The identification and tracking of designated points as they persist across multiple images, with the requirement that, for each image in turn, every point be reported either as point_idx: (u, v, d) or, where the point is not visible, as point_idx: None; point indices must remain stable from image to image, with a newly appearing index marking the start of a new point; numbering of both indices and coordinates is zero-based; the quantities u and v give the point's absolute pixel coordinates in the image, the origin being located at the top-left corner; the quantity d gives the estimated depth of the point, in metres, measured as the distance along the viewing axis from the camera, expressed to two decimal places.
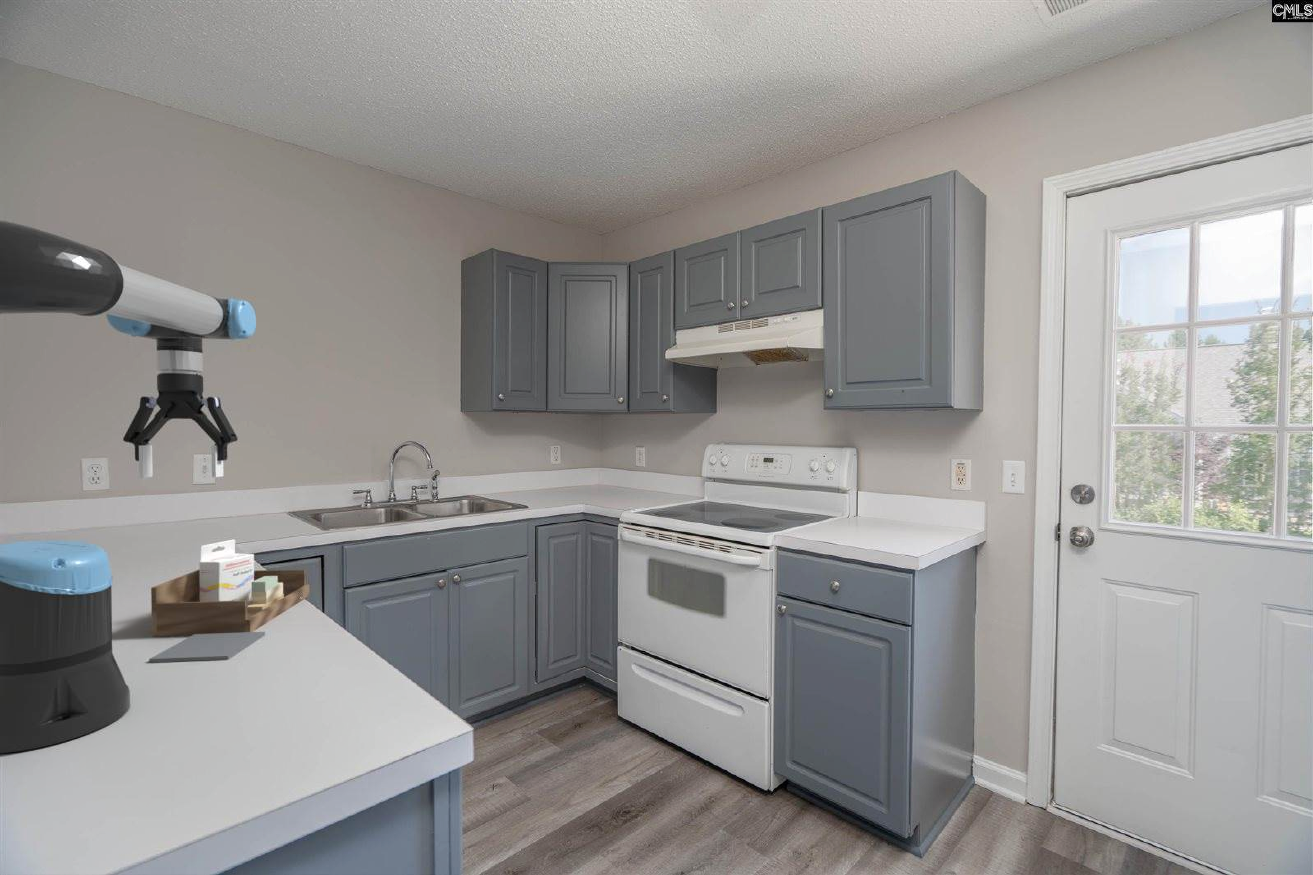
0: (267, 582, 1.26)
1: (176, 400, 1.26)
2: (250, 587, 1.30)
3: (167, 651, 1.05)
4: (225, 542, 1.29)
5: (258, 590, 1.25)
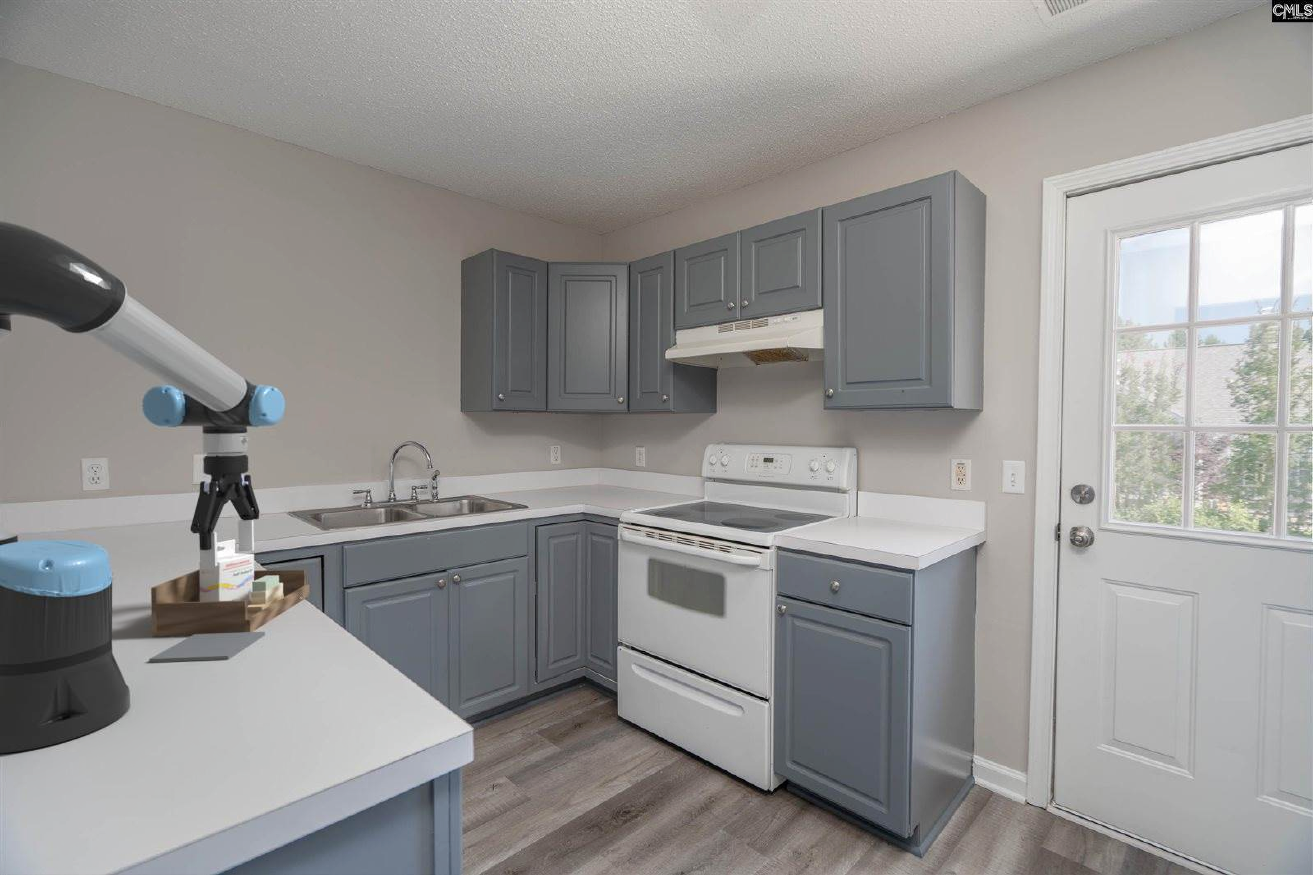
0: (268, 582, 1.26)
1: None
2: (250, 587, 1.30)
3: (167, 651, 1.05)
4: (225, 542, 1.29)
5: (259, 590, 1.25)
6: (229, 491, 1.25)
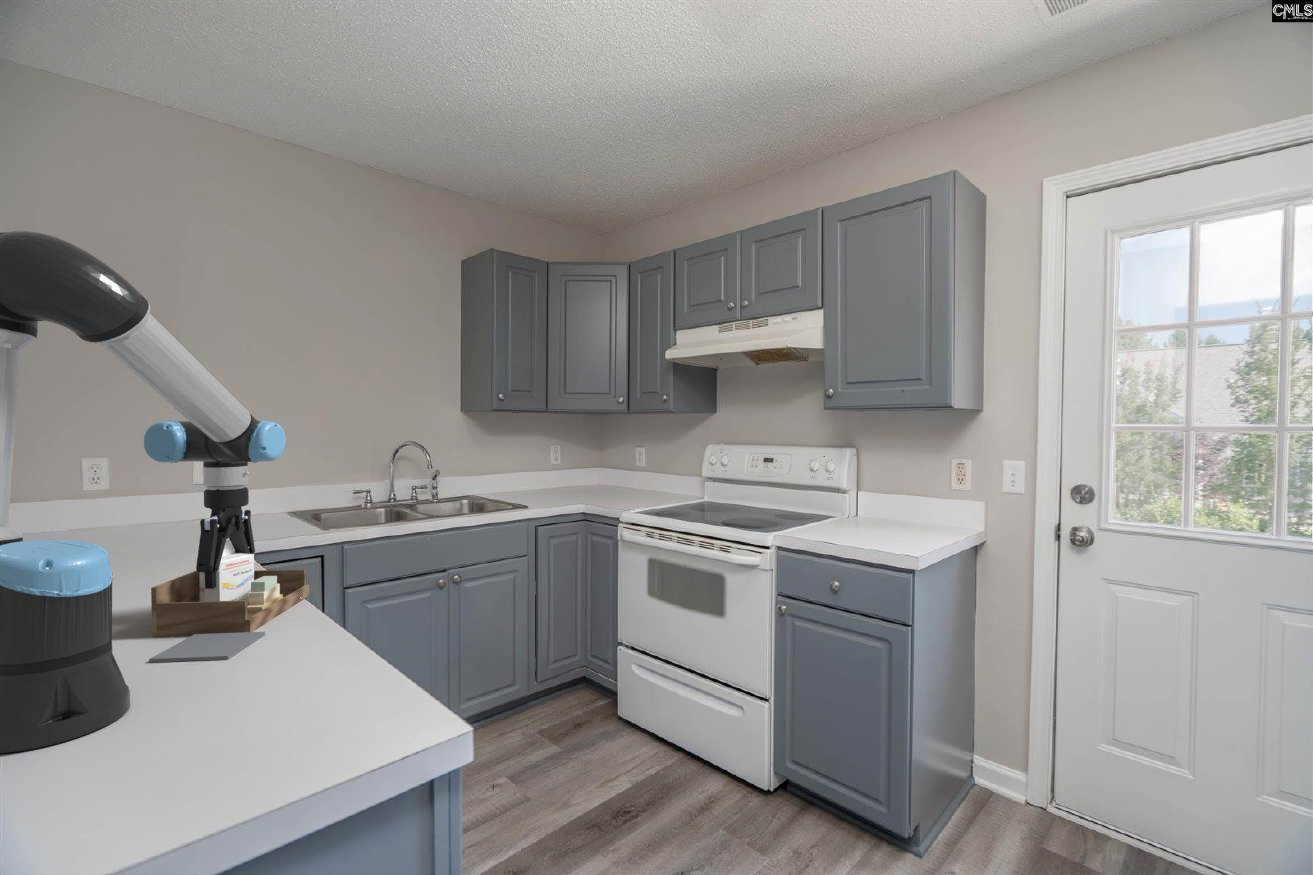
0: (266, 582, 1.26)
1: None
2: (250, 587, 1.30)
3: (167, 651, 1.05)
4: None
5: (257, 590, 1.25)
6: (230, 525, 1.25)
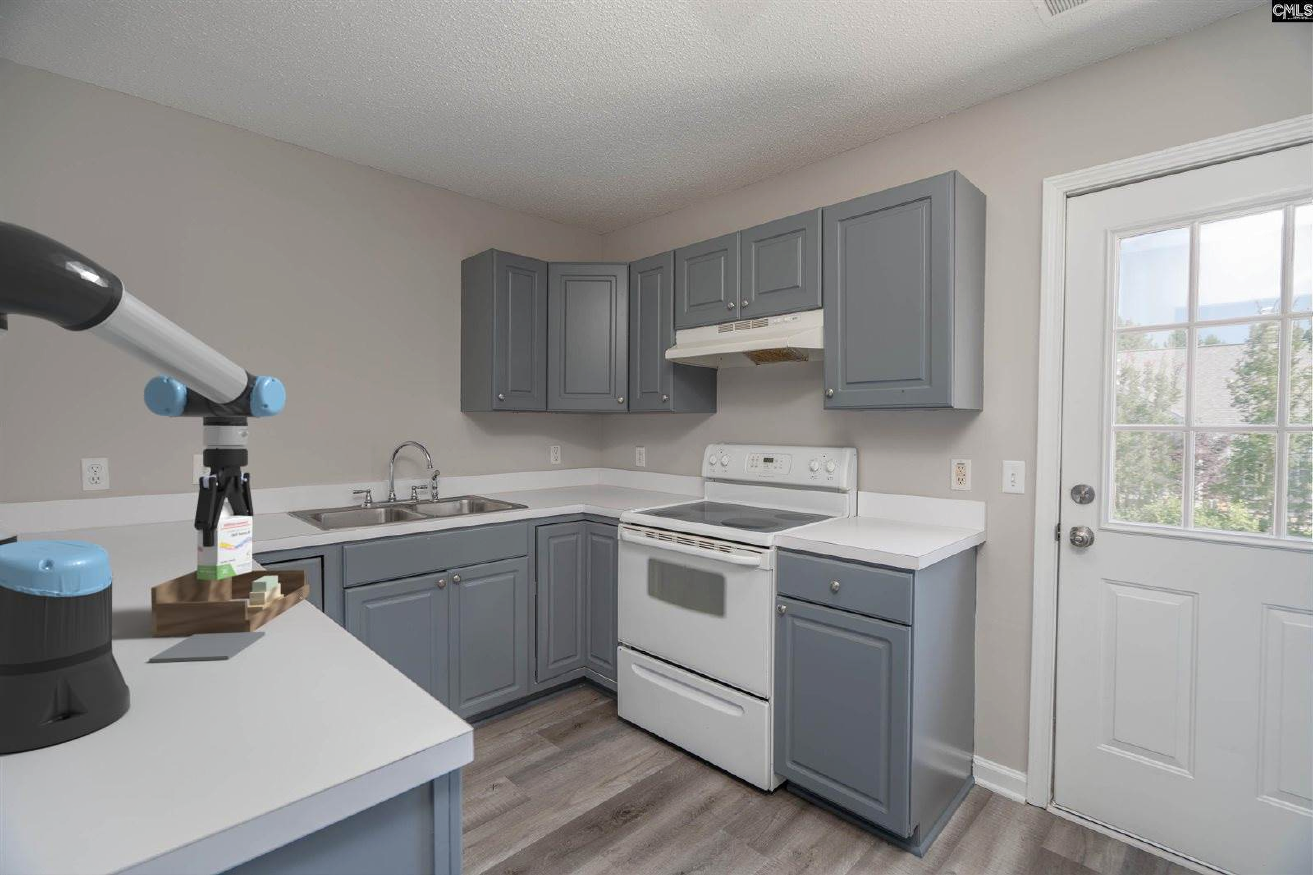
0: (268, 582, 1.26)
1: None
2: (248, 549, 1.29)
3: (167, 651, 1.05)
4: (224, 503, 1.28)
5: (259, 590, 1.25)
6: (229, 485, 1.24)
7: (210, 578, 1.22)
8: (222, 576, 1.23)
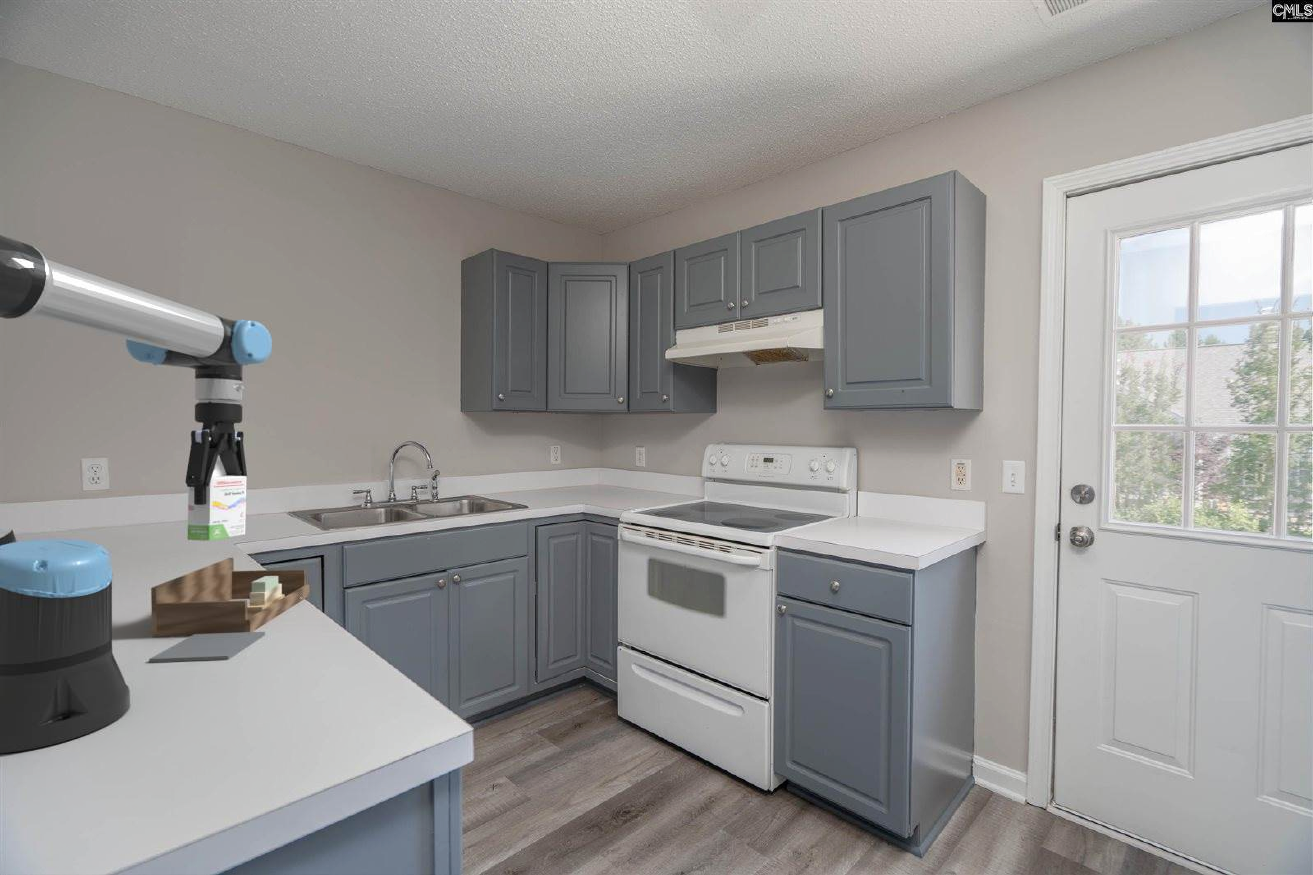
0: (267, 582, 1.26)
1: None
2: (242, 510, 1.23)
3: (167, 651, 1.05)
4: (216, 462, 1.22)
5: (258, 590, 1.25)
6: (222, 441, 1.18)
7: (202, 538, 1.16)
8: (215, 536, 1.17)
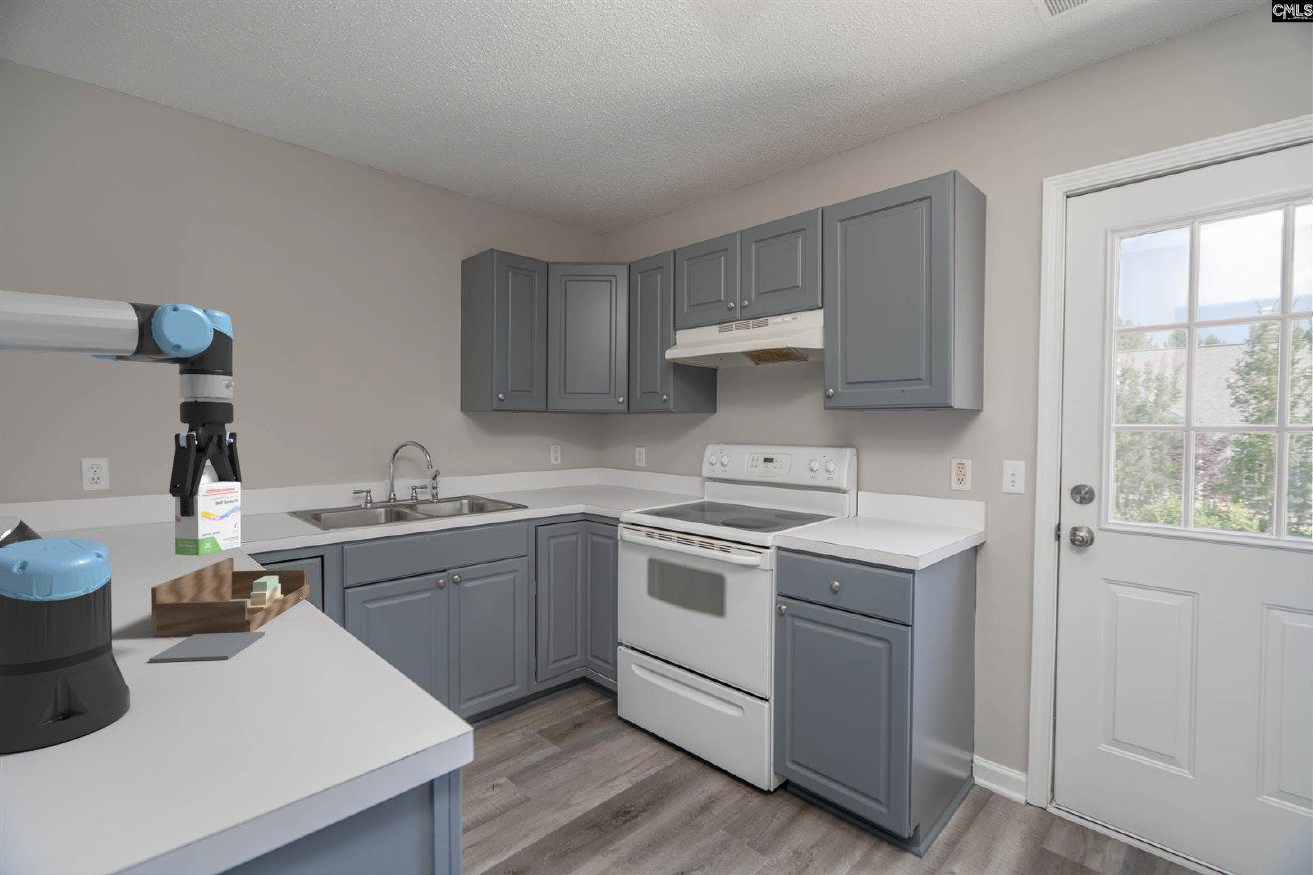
0: (268, 582, 1.26)
1: None
2: (236, 520, 1.10)
3: (167, 651, 1.05)
4: (206, 467, 1.09)
5: (260, 590, 1.25)
6: (211, 444, 1.05)
7: (190, 553, 1.03)
8: (205, 550, 1.04)
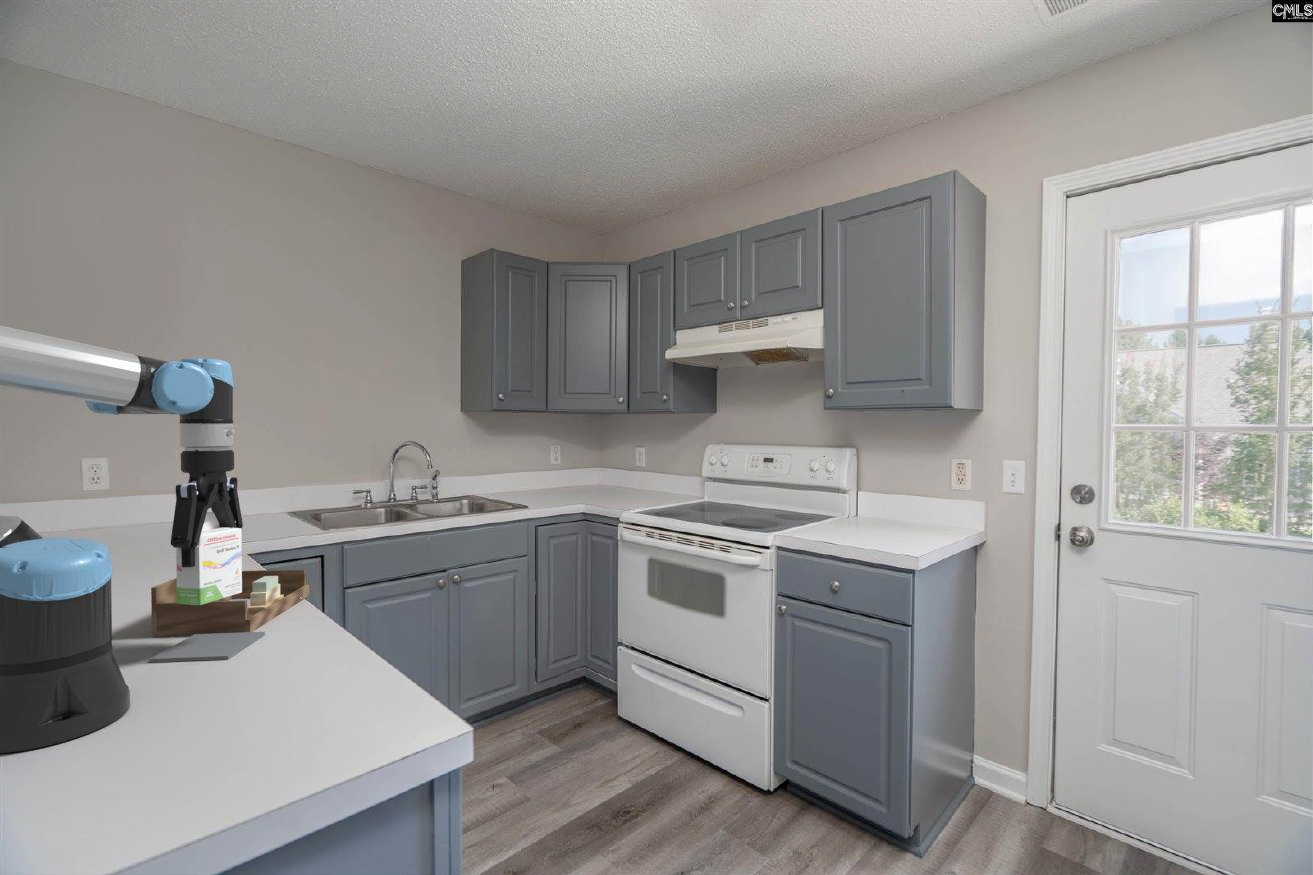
0: (268, 582, 1.26)
1: None
2: (237, 566, 1.11)
3: (167, 651, 1.05)
4: (207, 514, 1.10)
5: (259, 590, 1.25)
6: (212, 493, 1.06)
7: (192, 603, 1.04)
8: (207, 599, 1.05)
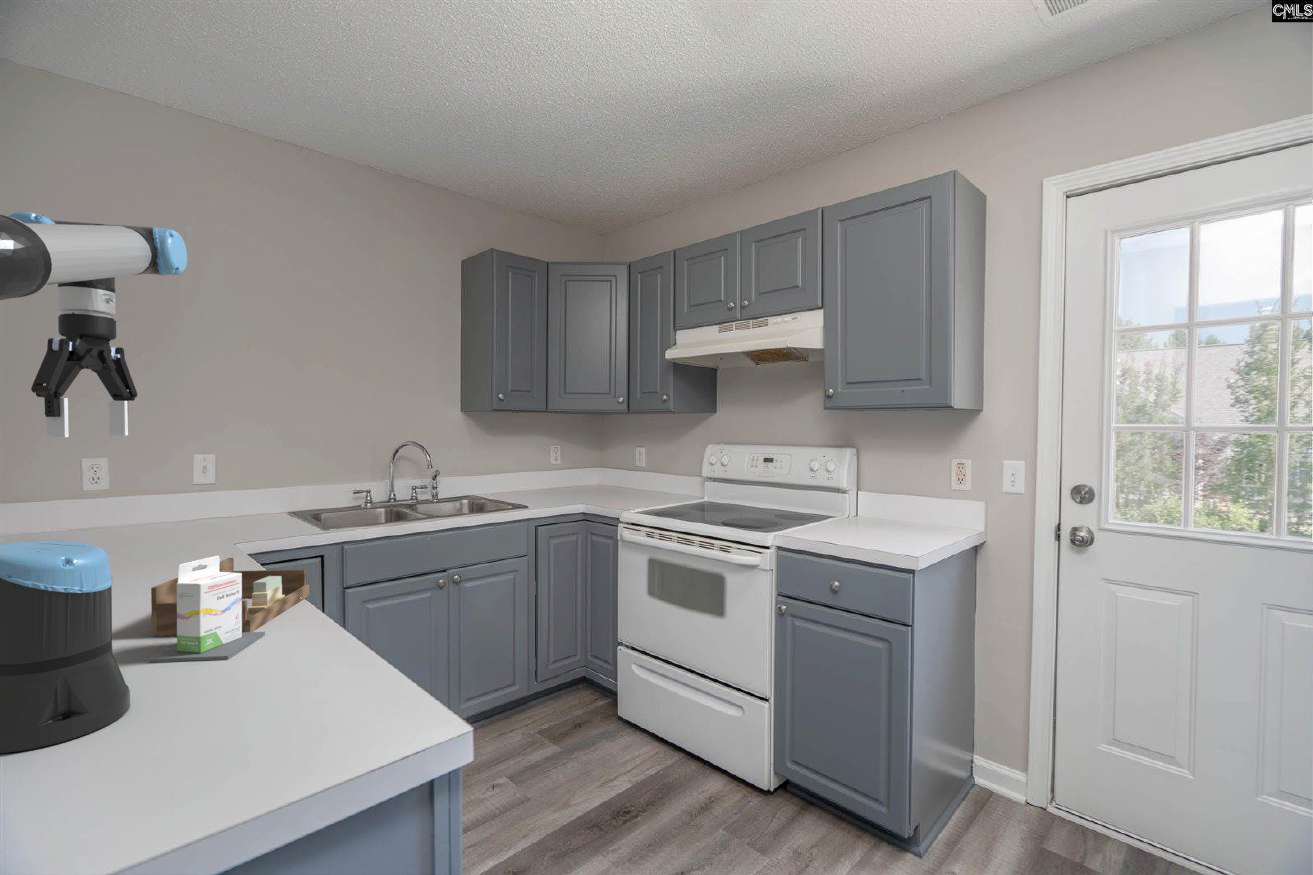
0: (268, 582, 1.26)
1: None
2: (237, 612, 1.11)
3: (167, 651, 1.05)
4: (208, 559, 1.10)
5: (259, 590, 1.25)
6: (88, 356, 1.07)
7: (192, 651, 1.04)
8: (207, 647, 1.05)
